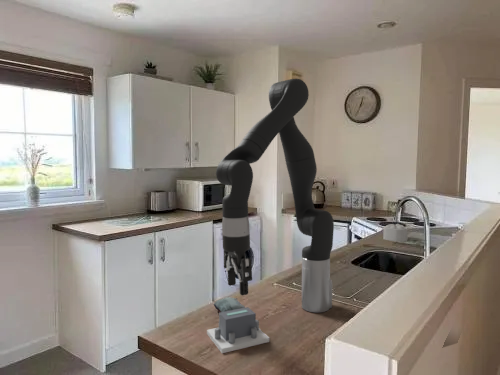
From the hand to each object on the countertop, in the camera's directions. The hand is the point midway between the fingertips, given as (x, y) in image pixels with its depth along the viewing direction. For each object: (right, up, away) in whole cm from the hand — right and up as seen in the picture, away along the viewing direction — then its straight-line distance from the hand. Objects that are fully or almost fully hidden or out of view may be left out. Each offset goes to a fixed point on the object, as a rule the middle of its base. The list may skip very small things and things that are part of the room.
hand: (237, 289), depth 108 cm
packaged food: (-2, -13, +17) cm, 22 cm away
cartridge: (0, -13, +1) cm, 13 cm away
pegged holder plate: (0, -14, +1) cm, 14 cm away
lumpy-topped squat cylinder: (+90, -2, +121) cm, 150 cm away
